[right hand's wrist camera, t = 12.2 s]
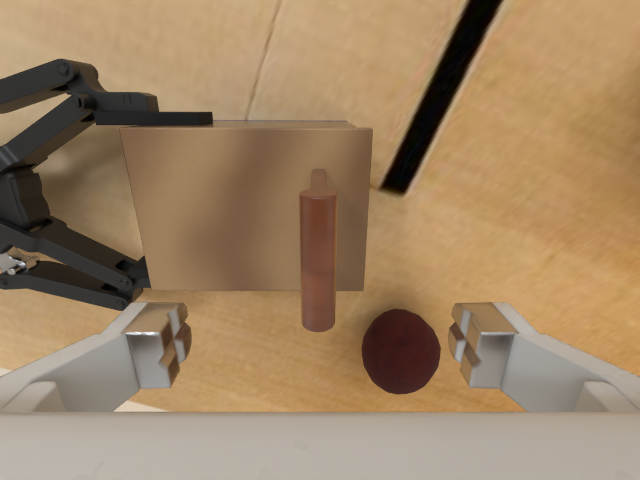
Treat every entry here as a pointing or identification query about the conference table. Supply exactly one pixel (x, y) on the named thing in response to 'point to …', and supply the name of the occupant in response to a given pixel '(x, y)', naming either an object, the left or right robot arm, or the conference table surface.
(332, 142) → the lid
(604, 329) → the conference table surface
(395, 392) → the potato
